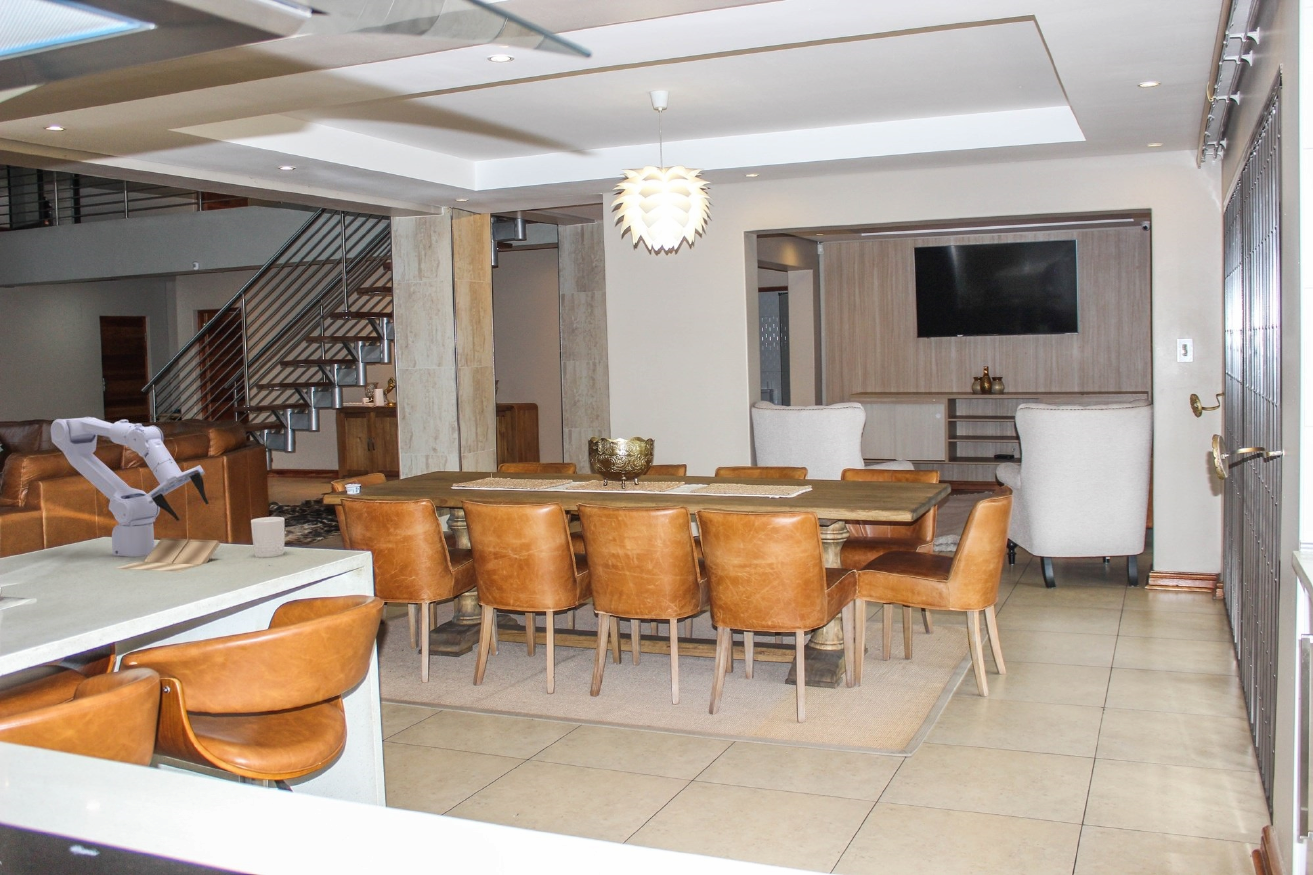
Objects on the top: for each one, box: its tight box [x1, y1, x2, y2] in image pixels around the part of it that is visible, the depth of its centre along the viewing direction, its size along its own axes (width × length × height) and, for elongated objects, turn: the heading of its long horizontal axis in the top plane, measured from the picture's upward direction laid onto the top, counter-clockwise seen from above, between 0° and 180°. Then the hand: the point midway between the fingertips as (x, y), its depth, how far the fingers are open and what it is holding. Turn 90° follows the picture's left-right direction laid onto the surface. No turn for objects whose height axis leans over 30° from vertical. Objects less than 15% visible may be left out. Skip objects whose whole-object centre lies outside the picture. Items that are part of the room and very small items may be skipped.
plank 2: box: [173, 539, 221, 566], centre depth 275 cm, size 8×8×1 cm
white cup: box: [250, 516, 286, 558], centre depth 282 cm, size 8×8×10 cm
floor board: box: [115, 561, 201, 573], centre depth 269 cm, size 18×8×1 cm, turn 73°
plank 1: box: [143, 537, 190, 563], centre depth 278 cm, size 8×8×1 cm
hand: (192, 511), depth 278 cm, fingers open, 7 cm apart
